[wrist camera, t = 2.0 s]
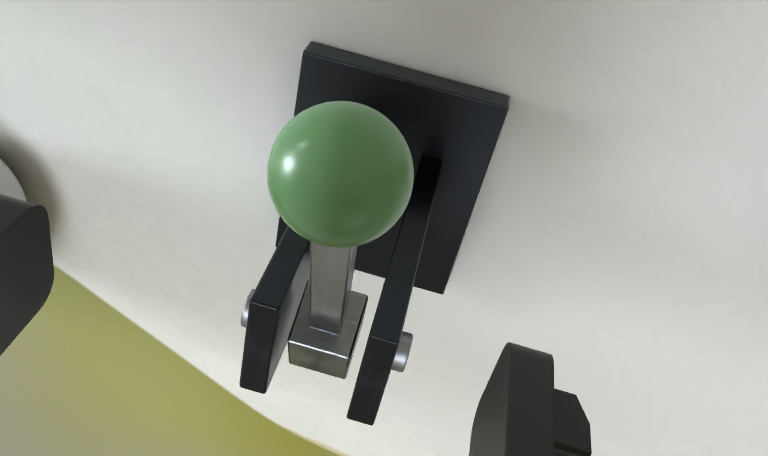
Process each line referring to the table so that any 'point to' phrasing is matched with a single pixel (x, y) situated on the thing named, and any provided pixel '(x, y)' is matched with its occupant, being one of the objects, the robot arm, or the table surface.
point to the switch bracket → (408, 235)
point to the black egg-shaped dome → (10, 183)
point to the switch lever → (336, 216)
